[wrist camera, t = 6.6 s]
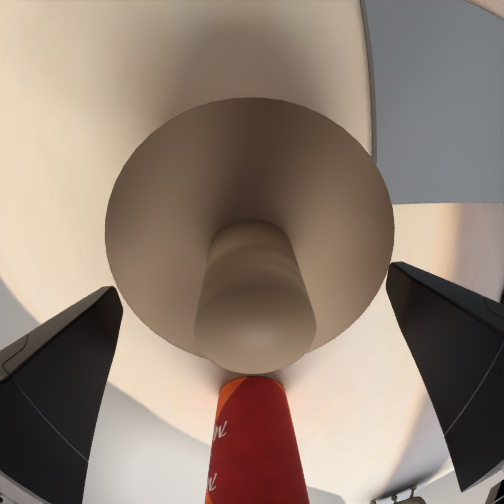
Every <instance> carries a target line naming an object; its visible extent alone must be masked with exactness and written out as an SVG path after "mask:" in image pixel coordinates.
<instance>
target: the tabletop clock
mask: <svg viewBox="0 0 504 504" xmlns="http://www.w3.org/2000/svg"><path fill="white" fill-rule="evenodd" d="M416 488H417V487H416V485H412V486H411V490H412V492H411V495H410V498H409V499H406V500H403V501H400V502H397V501H396V499H397V496H396V495H394V496H392V498H391V499H392V500H393V501H394V504H426V503H425V501H424V500H423V499H422V498H421V497H413V494H414V490H415V489H416ZM370 504H376V501H371V502H370Z"/></svg>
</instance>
